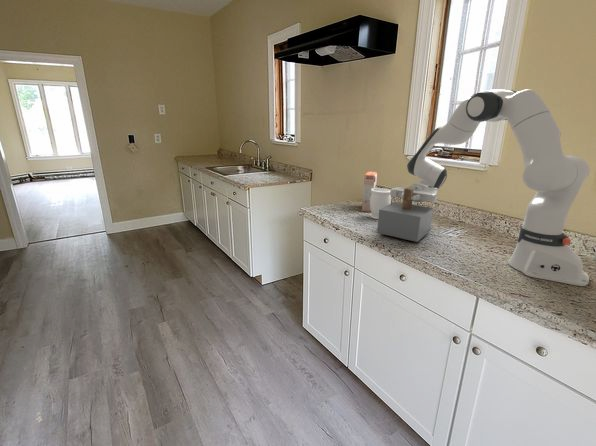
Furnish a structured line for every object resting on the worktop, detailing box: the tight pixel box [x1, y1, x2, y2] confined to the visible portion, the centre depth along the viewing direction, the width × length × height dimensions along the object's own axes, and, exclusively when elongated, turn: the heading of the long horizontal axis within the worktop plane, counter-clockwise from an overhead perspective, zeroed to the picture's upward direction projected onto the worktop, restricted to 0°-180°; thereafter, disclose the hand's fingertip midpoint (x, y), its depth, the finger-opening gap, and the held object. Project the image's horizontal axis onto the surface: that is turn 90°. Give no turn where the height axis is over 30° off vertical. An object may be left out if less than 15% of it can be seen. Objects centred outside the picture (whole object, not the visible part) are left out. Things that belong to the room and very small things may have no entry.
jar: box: [370, 187, 392, 220], centre depth 167 cm, size 11×10×15 cm
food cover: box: [376, 187, 434, 243], centre depth 141 cm, size 18×18×20 cm
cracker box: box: [361, 171, 378, 213], centre depth 182 cm, size 14×6×21 cm, turn 161°
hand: (407, 197), depth 138 cm, fingers closed on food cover, 3 cm apart
